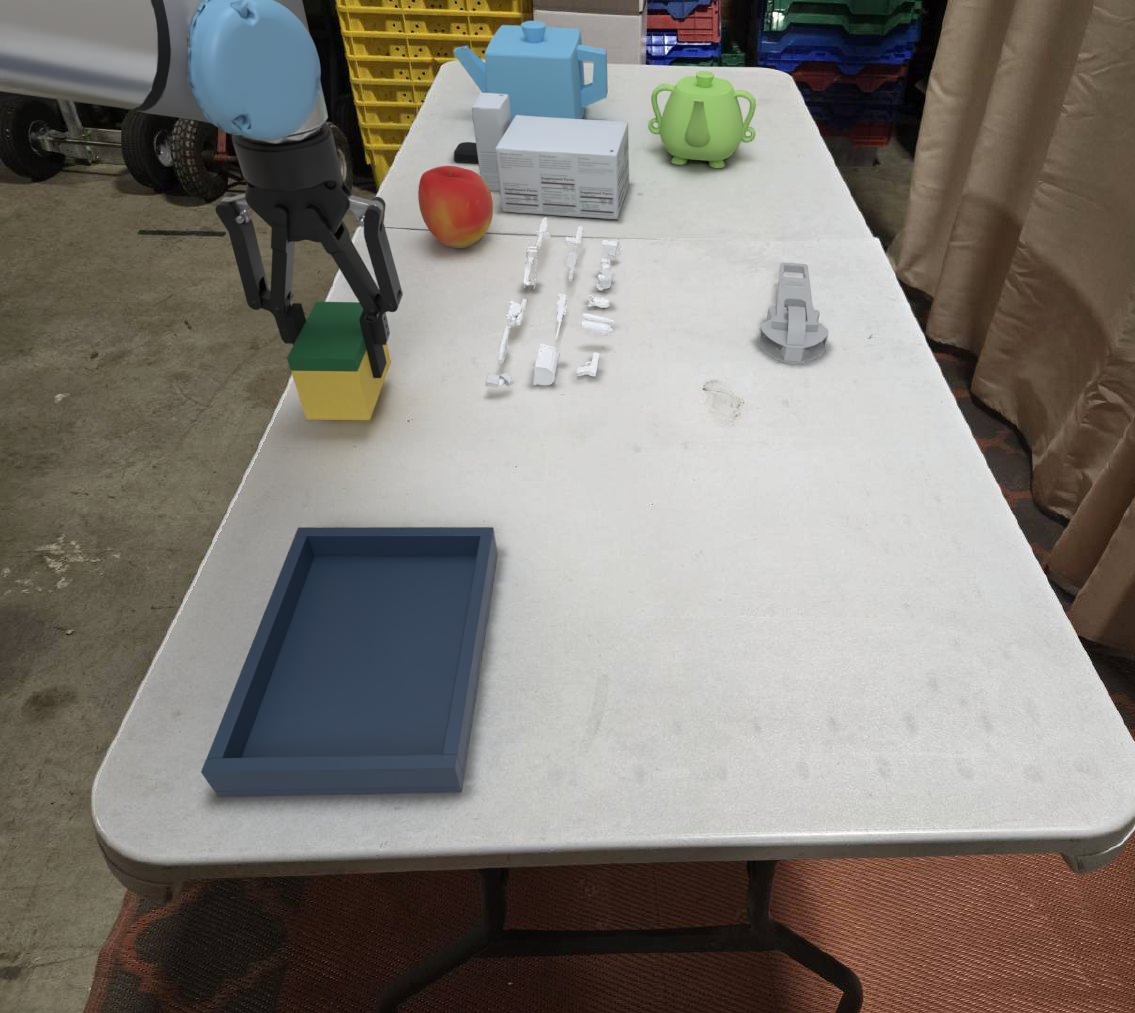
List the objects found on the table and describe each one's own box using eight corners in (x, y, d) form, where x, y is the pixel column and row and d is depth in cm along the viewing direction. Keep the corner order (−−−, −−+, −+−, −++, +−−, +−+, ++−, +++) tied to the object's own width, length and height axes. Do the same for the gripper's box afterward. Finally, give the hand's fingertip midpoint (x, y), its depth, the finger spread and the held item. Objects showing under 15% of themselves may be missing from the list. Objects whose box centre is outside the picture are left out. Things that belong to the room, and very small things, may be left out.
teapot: (766, 168, 136) (776, 84, 127) (692, 184, 130) (697, 97, 121) (711, 134, 145) (717, 54, 137) (640, 147, 140) (641, 64, 131)
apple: (484, 263, 109) (475, 188, 102) (413, 256, 110) (399, 180, 103) (504, 230, 116) (497, 157, 109) (437, 224, 117) (425, 151, 110)
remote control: (552, 159, 136) (459, 149, 136) (552, 147, 135) (458, 138, 134) (547, 171, 132) (452, 161, 132) (547, 160, 131) (451, 150, 131)
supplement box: (629, 183, 129) (630, 120, 122) (618, 221, 119) (617, 155, 113) (520, 175, 130) (515, 112, 123) (500, 212, 120) (493, 146, 114)
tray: (461, 792, 57) (454, 767, 54) (217, 797, 56) (200, 772, 54) (497, 553, 73) (493, 526, 70) (308, 554, 72) (297, 527, 69)
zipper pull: (821, 288, 108) (826, 257, 105) (827, 367, 95) (833, 334, 92) (760, 283, 109) (763, 252, 106) (757, 361, 96) (761, 328, 93)
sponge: (370, 420, 81) (354, 358, 76) (306, 419, 81) (286, 357, 76) (391, 361, 88) (378, 302, 83) (332, 361, 88) (316, 301, 83)
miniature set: (533, 236, 113) (622, 253, 115) (484, 405, 89) (598, 424, 91) (536, 191, 108) (630, 210, 110) (486, 358, 85) (606, 379, 86)
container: (603, 144, 140) (601, 42, 129) (453, 136, 140) (438, 33, 129) (611, 108, 152) (610, 12, 142) (472, 101, 152) (461, 4, 141)
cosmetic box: (489, 174, 129) (480, 91, 121) (517, 176, 129) (509, 93, 121) (480, 190, 125) (470, 106, 117) (509, 192, 125) (500, 108, 117)
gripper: (410, 114, 70) (449, 350, 86) (175, 106, 69) (258, 347, 85) (392, 148, 65) (437, 393, 81) (136, 140, 64) (233, 390, 79)
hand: (345, 369), depth 83 cm, fingers closed on sponge, 6 cm apart
